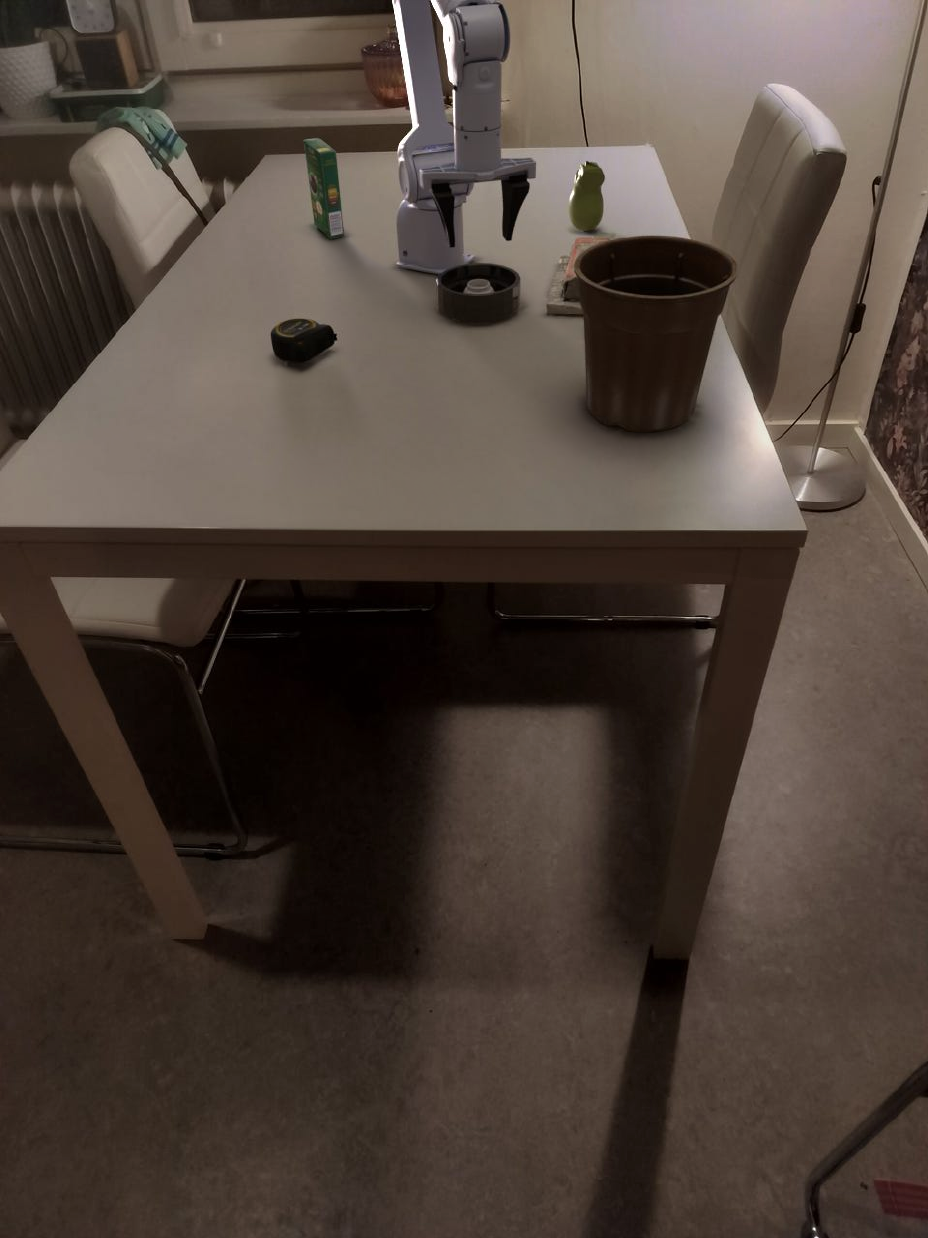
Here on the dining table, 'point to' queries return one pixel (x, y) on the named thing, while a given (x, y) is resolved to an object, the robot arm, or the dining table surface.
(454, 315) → the bowl
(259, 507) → the dining table surface
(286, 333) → the tape measure
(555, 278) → the packaged product
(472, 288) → the white jar
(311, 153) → the coffee box
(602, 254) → the plant pot
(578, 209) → the pear
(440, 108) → the robot arm
